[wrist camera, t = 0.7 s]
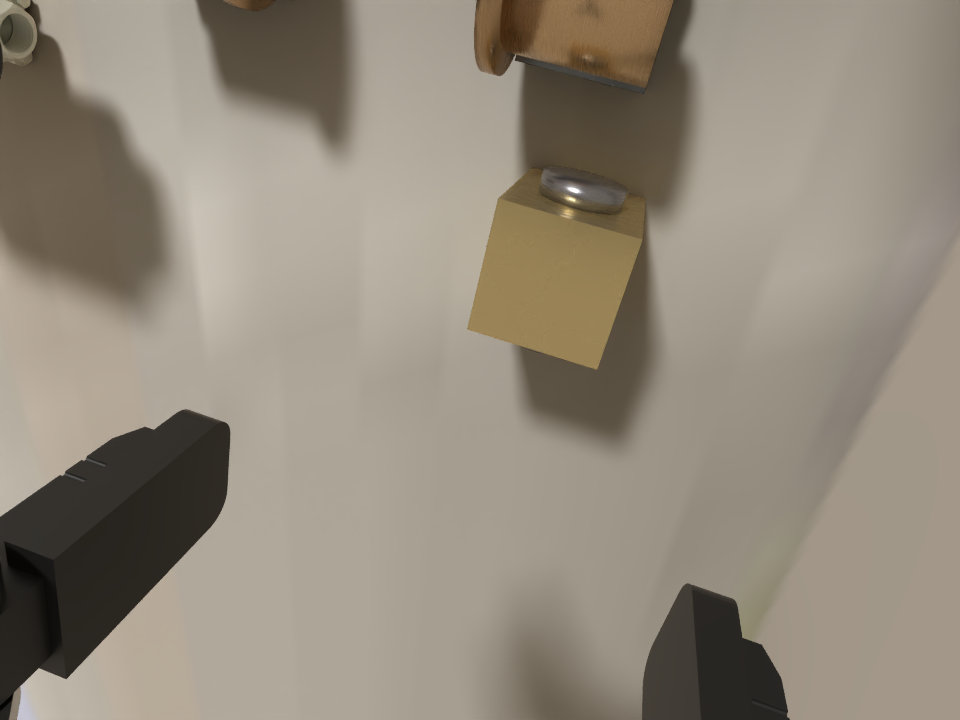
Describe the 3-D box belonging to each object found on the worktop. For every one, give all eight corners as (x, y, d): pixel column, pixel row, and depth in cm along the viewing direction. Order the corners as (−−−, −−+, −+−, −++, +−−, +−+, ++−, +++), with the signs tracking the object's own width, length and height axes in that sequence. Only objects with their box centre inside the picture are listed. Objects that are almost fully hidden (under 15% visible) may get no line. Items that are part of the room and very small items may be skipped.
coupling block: (537, 148, 28) (503, 174, 22) (652, 180, 27) (650, 216, 21) (501, 289, 31) (462, 348, 25) (603, 320, 30) (590, 388, 24)
